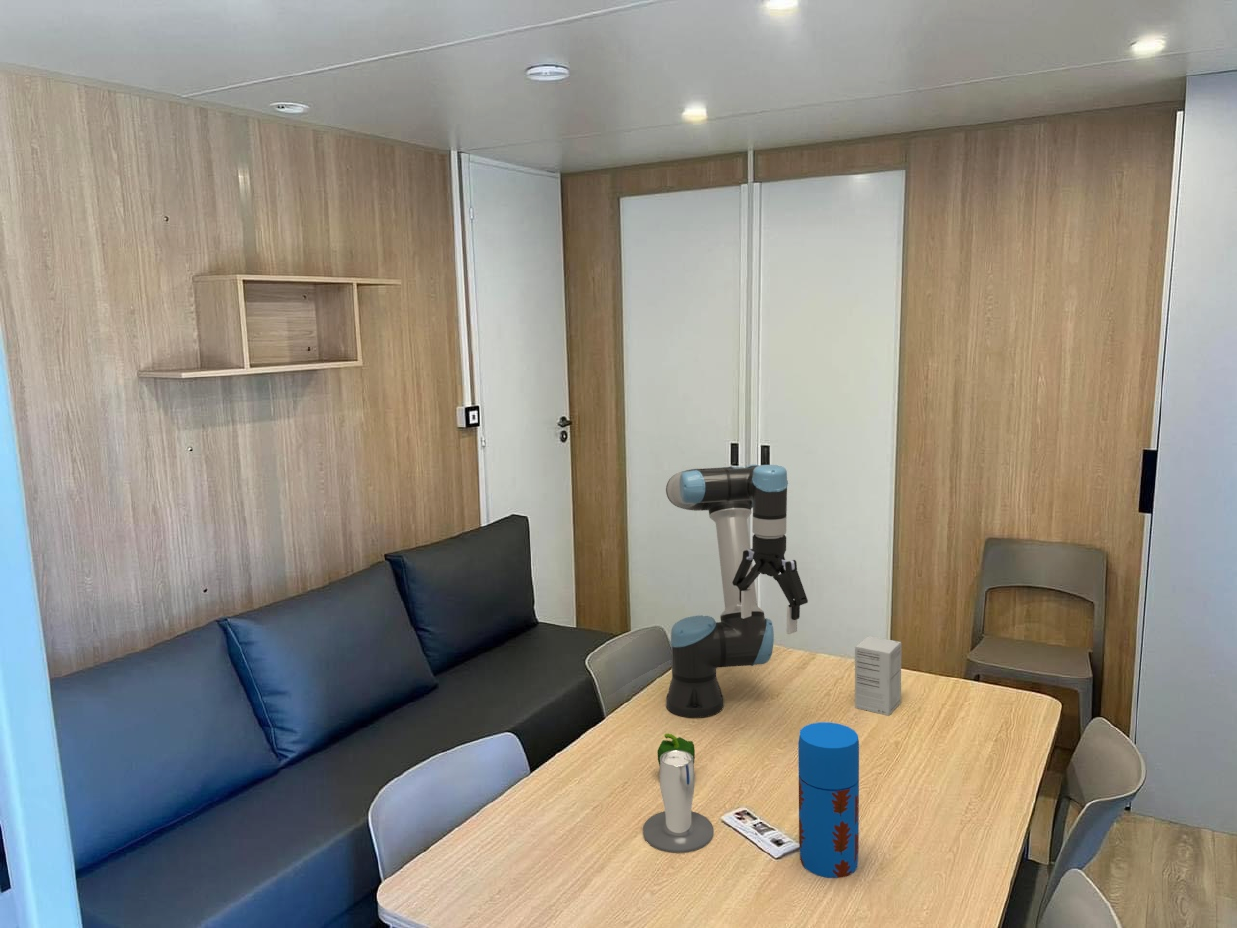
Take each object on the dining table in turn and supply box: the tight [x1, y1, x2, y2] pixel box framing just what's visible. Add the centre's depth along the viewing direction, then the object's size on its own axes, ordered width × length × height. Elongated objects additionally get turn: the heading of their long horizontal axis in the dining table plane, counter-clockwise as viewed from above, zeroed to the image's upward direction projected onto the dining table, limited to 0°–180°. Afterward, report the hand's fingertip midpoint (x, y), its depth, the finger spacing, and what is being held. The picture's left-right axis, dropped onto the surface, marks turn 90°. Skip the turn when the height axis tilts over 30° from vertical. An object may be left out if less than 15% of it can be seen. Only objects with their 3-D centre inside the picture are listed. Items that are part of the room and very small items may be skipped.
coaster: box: [642, 810, 714, 854], centre depth 177 cm, size 14×14×1 cm
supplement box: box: [854, 635, 902, 717], centre depth 230 cm, size 10×9×17 cm
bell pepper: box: [656, 733, 696, 767], centre depth 198 cm, size 8×8×10 cm
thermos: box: [797, 721, 860, 879], centre depth 164 cm, size 11×11×25 cm
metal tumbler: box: [658, 750, 696, 837], centre depth 176 cm, size 7×7×15 cm
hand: (768, 624), depth 204 cm, fingers open, 13 cm apart
